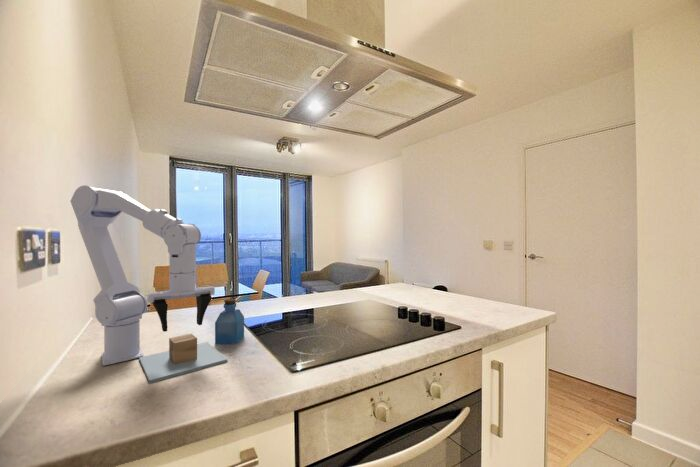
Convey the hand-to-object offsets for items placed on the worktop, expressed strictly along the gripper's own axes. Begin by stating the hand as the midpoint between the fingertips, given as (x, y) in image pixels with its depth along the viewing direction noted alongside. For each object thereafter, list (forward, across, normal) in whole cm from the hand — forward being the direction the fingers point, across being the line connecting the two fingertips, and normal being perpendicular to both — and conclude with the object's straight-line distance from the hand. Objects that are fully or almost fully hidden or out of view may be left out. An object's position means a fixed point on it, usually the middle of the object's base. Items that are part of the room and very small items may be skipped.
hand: (182, 327), depth 74 cm
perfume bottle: (+8, +14, +7) cm, 18 cm away
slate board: (+8, 0, 0) cm, 8 cm away
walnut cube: (+8, 0, 0) cm, 8 cm away
